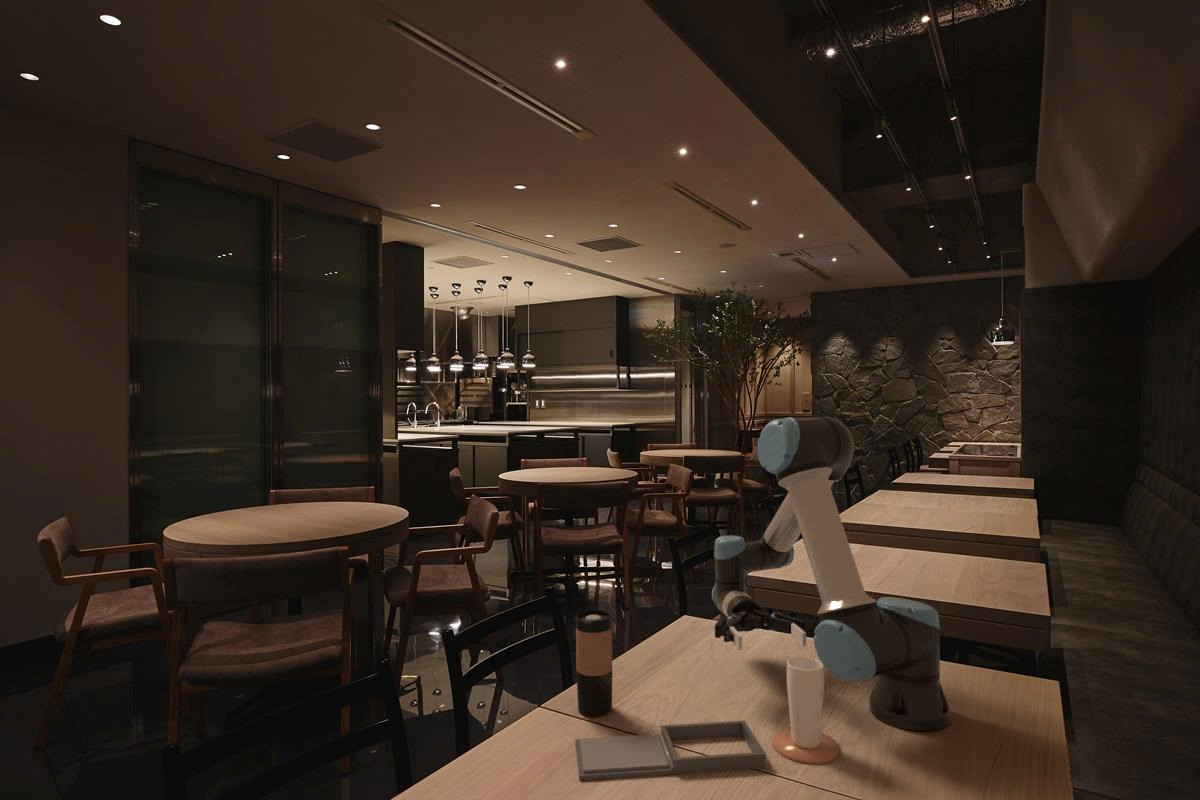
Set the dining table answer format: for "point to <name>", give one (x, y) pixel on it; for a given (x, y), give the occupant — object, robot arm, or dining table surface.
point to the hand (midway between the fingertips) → (772, 641)
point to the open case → (664, 752)
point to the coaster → (805, 749)
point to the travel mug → (594, 662)
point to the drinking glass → (805, 700)
